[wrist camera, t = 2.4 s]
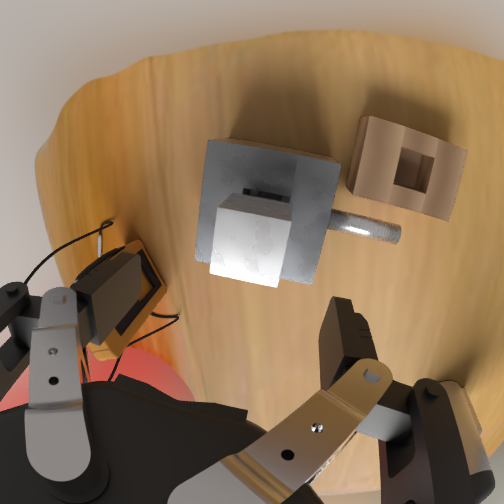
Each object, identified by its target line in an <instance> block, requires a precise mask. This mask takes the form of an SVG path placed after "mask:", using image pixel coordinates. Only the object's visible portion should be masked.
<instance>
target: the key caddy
mask: <svg viewBox="0 0 504 504" xmlns="http://www.w3.org/2000/svg"><path fill="white" fill-rule="evenodd" d="M466 154H467V150H465V149H463V148H460V147H458V146H456V145H453V144H451V143H448V142H446V141H443V140H441V139H438V138H436V137H433V136H431V135H428V134H425V133H422V132H420V131H417V130H414V129H411V128H408V127H405V126H402V125H399V124H396V123H393V122H390V121H387V120H384V119H380V118H377V117H374V116H370V115H369V116H364V117H360V120H359V126H358V131H357V136H356V141H355V146H354V151H353V156H352V161H351V165H350V170H349V174H348V179H347V183H346V187H347V189H348V190H349V191H350V192H351V193H352V195H355V196H359V197H363V198H367V199H371V200H375V201H379V202H383V203H387V204H390V205H394V206H398V207H401V208H405V209H408V210H412V211H415V212H419V213H422V214H425V215H429V216H432V217H435V218H439V219H442V220H445V221H448V222H449V220H450V217H451V213H452V210H453V206H454V203H455V199H456V196H457V192H458V188H459V184H460V180H461V176H462V172H463V168H464V163H465V158H466Z"/></svg>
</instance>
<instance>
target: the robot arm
mask: <svg viewBox="0 0 504 504" xmlns="http://www.w3.org/2000/svg"><path fill="white" fill-rule="evenodd" d="M141 288H142V284H141V257H140V255H138V254H134V253H130V252H126V251H122V252H121V253H119V254H118V255H117V256H116V257H114V258H113V259H110V260H107V261H105V262H102V263H100V264H99V265H98V266H96V267H95V268H94V269H93V270H91V271H90V272H89V273H88V275H85V276H84V277H83V278H81V279H80V280H79V281H78V282H77V283H75V284H74V285H73V286H72V287H71V288H68V287H56V288H53V289H50V290H48V291H47V292H46V293H45V294H44V295H43V297H40V296H31V295H29V291H28V287H27V285H26V284H25V283H22V282H11V283H8V284H6V285H4V286H3V287H1V288H0V332H2V330H4V329H5V327H7V326H8V328H9V330H10V333H11V337H10V338H9V339H8V340H7V341H6V342H5V343H4V345H2V346H1V348H0V401H1V400H2V399H3V397H4V396H5V395H6V393H7V392H8V391H9V389H10V388H11V387H12V385H13V384H14V383H15V382H16V380H17V379H18V378H19V376H20V375H21V374H22V373H23V371H24V370H25V369H26V368H27V366H28V365H29V364H30V365H29V403H26V404H23V405H20V406H17V407H14V408H11V409H7V410H4V411H1V412H0V504H324V503H323V502H322V501H321V499H320V498H319V496H318V495H317V494H316V493H315V491H314V490H313V489H312V487H311V486H310V484H311V483H312V482H313V481H314V480H315V479H316V478H317V477H318V476H319V475H320V474H321V473H322V472H323V471H324V470H325V468H326V467H327V466H328V465H329V464H330V463H331V462H332V461H333V460H334V459H335V458H336V456H337V455H338V454H339V453H340V452H341V451H342V450H343V449H344V447H345V446H346V445H347V444H348V443H349V442H350V441H351V439H352V438H353V437H354V436H355V435H356V433H357V432H359V433H362V434H365V435H368V436H371V437H374V438H377V439H378V443H379V458H380V477H381V504H480V503H481V502H482V501H483V500H484V499H486V498H487V496H489V495H490V494H491V492H492V491H493V490H494V488H495V479H494V476H493V472H492V469H491V466H490V463H489V460H488V457H487V454H486V451H485V448H484V446H483V443H482V440H481V437H480V434H481V432H482V428H481V425H480V423H479V420H478V418H477V416H476V413H475V411H474V408H473V406H472V404H471V401H470V399H469V397H468V395H467V392H466V390H465V388H461V387H460V386H459V384H458V383H456V382H454V381H444V382H440V383H438V382H436V381H434V380H432V379H428V378H423V379H420V380H418V381H417V382H416V383H415V385H414V386H413V387H411V386H408V385H405V384H402V383H399V382H397V381H394V380H393V376H392V373H391V371H390V369H389V368H388V367H387V366H386V365H385V364H383V363H382V362H380V361H378V357H377V354H376V350H375V346H374V343H373V339H372V336H371V332H370V329H369V325H368V322H367V321H366V319H365V318H364V317H363V316H362V315H361V314H360V313H354V309H353V305H352V302H351V300H350V299H345V298H340V297H335V296H333V297H332V298H331V300H330V303H329V306H328V309H327V312H326V315H325V318H324V320H323V323H322V326H321V329H320V334H319V359H320V382H321V389H320V390H319V391H318V392H317V393H315V394H314V395H313V396H312V397H311V398H310V399H308V400H307V401H306V402H305V403H304V404H303V405H301V406H300V407H299V408H298V409H296V410H295V411H294V412H293V413H292V414H290V415H289V416H288V417H287V418H285V419H284V420H283V421H282V422H280V423H279V424H278V425H276V426H275V427H274V428H273V429H271V430H270V431H269V432H267V431H266V430H264V429H263V428H261V427H260V426H258V425H256V424H254V423H253V422H250V421H248V420H246V418H247V413H248V410H244V409H239V408H235V407H230V406H226V405H221V404H217V403H208V402H191V401H179V400H176V399H174V398H172V397H170V396H168V395H167V394H165V393H163V392H161V391H159V390H158V389H156V388H154V387H152V386H151V385H149V384H147V383H144V382H141V381H138V380H136V379H133V378H130V377H127V376H124V375H122V374H119V375H118V376H117V378H116V379H115V381H114V382H112V381H95V382H92V378H91V372H90V366H89V359H88V351H87V347H86V346H87V344H88V343H89V342H91V343H93V344H96V345H98V346H100V345H101V344H102V343H103V342H104V340H105V339H106V338H107V337H108V336H109V334H110V333H111V332H112V331H113V329H114V328H115V327H116V326H117V324H118V323H119V322H120V321H121V320H122V318H123V317H124V316H125V315H126V314H127V312H128V311H129V310H130V309H131V308H132V306H133V305H134V304H135V303H136V302H137V300H138V299H139V297H140V294H141Z"/></svg>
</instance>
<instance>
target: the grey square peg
mask: <svg viewBox="0 0 504 504" xmlns="http://www.w3.org/2000/svg"><path fill="white" fill-rule="evenodd" d="M292 211H293V204H290V203H285V202H282V198H281V195H279V194H274V193H269V192H263V191H259V193H258V194H257V196H256V197H254V196H249V195H244V194H238V193H232V194H231V195H230V196H229V197H228V198H226V199H225V200H224V201H223V202H222V203H221V204H220V205H219V206H218V207H217V214H216V222H215V230H214V238H213V247H212V256H211V265H210V273H211V274H215V275H220V276H224V277H229V278H234V279H238V280H243V281H248V282H252V283H257V284H262V285H267V286H271V287H276V288H277V286H278V282H279V277H280V273H281V268H282V264H283V259H284V255H285V250H286V246H287V241H288V236H289V232H290V227H291V222H292Z"/></svg>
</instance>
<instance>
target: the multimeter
mask: <svg viewBox="0 0 504 504" xmlns="http://www.w3.org/2000/svg"><path fill="white" fill-rule="evenodd" d="M113 223H114V222H112V221H110V222H105V223H103V224H102V225H101V227H100V228H99V229H97V230H95V231H92V232H90V233H88V234H86V235H83V236H81V237H79V238H77V239H75V240H73V241H71V242H69V243H67V244H65V245H63V246H61V247H60V248H58V249H56V250H55V251H54V252H52V253H51V254H50V255H48V256H47V257H46V258H45V259H44V260H43V261H42V262H41V263H40V264H39V265H38V266H37V267H36V268H35V269H34V270H33V271H32V272H31V274H30V275H29V277H28V278H27V279H26V280H25V282H24V283H25V284H27V283H28V281H29V280H30V278H31V277H32V276H33V275H34V273H35V272H36V271H37V270H38V269H39V268H40V266H42V265H43V264H44V263H45V262H46V261H47V260H48V259H49V258H50V257H51V256H53V255H54V254H55V253H57V252H58V251H60V250H61V249H63V248H65V247H66V246H68V245H70V244H72V243H74V242H76V241H78V240H80V239H82V238H85V237H87V236H89V235H91V234H93V233H96V232H98V231H99V237H98V255H99V258H98V259H97V260H95V261H94V262H93V263H91V264H90V265H89V266H88V267H86V268H85V269H84V270H83V271H82V272H81V273H80V274H79V275H78V276H77V278H76V280H75V281H74V283H73V284H72V285H71V286H70V288H71V287H72V286H73V285H74V284H75V283H77V282H78V281H79V280H80V279H81V278H83V277H84V276H85V275H88V273H89V272H90V271H91V270H93V269H94V268H95V267H96V266H98V265H99V264H100V263H102V262H105V261H107V260H110V259H113V258H114V257H116V256H117V255H118V254H119V253H121V252H122V251H126V252H130V253H134V254H138V255H140V257H141V284H142V288H141V294H140V297H139V299H138V300H137V302H136V303H135V304H134V305H133V306H132V308H131V309H130V310H129V311H128V312H127V314H126V315H125V316H124V317H123V318H122V320H121V321H120V322H119V323H118V324H117V326H116V327H115V328H114V329H113V331H112V332H111V333H110V334H109V336H108V337H107V338H106V339H105V340H104V342H103V343H102V344H101V345H100V346H98V345H96V344H93V343H91V342H89V343H88V344H87V346H88V347H89V348H90V350H91V351H92V354H93V355H94V356H95V357H96V358H97V359H98V360H99V361H103V360H109V359H115V358H118V359H117V361H116V364H115V367H114V369H113V371H112V373H111V375H110V377H109V379H108V381H111V379H112V377H113V375H114V373H115V371H116V369H117V366H118V363H119V361H120V358H121V356H122V354H123V351H124V350H125V349H126V348H127V347H128V346H130V345H132V344H134V343H136V342H138V341H140V340H142V339H144V338H146V337H148V336H150V335H152V334H154V333H156V332H158V331H160V330H162V329H164V328H165V327H167V326H169V325H171V324H173V323H174V322H176V321H177V320H178V319H179V316H158V315H155V314H152V311H153V310H154V308H155V307H156V306H157V304H158V303H159V302H160V300H161V299H162V297H163V296H164V295H165V294H166V292H167V288H166V286H165V284H164V282H163V281H162V280H161V278H160V276H159V274H158V272H157V271H156V269H155V267H154V265H153V263H152V261H151V259H150V258H149V256H148V254H147V252H146V250H145V247H144V245H143V243H142V242H141V241H140V240H138V239H137V240H135V241H133V242H131V243H129V244H126V245H124V246H122V247H119V248H115V249H113V250H111V251H109V252H107V253H105V254H103V255H102V253H101V251H102V236H101V230H102V229H105V228H107V227H109V226H111V225H112V224H113ZM105 224H108V225H106V226H104V227H103V225H105ZM100 255H102V256H100ZM149 315H152V316H155V317H159V318H176V319H175V320H174V321H172V322H170V323H169V324H167V325H165V326H163V327H161V328H159V329H157V330H155V331H153V332H151V333H149V334H147V335H145V336H143V337H141V338H139V339H137V340H135V341H133V342H131V343H130V341H131V340H132V338H133V337H134V336H135V334H136V333H137V332H138V330H139V329H140V328H141V326H142V325H143V324H144V322H145V321H146V319H147V318H148V317H149Z"/></svg>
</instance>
